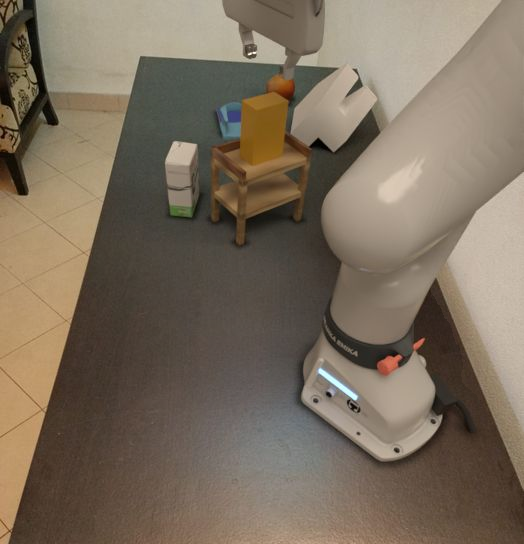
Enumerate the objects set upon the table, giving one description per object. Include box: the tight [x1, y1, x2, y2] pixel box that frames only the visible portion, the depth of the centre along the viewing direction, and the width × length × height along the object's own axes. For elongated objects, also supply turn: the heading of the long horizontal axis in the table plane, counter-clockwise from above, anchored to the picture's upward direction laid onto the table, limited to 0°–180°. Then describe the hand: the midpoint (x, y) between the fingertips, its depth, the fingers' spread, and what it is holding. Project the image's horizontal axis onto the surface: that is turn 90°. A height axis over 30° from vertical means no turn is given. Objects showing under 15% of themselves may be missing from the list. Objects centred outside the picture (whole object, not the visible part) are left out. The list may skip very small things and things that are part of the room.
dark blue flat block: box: [216, 106, 241, 124], centre depth 122 cm, size 2×8×12 cm
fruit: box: [265, 73, 296, 105], centre depth 131 cm, size 8×8×8 cm
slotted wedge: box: [289, 62, 378, 153], centre depth 116 cm, size 14×11×18 cm
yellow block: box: [240, 92, 289, 166], centre depth 83 cm, size 4×7×10 cm, turn 127°
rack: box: [209, 130, 313, 246], centre depth 92 cm, size 10×16×16 cm, turn 127°
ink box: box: [164, 140, 200, 218], centre depth 94 cm, size 9×5×12 cm, turn 175°
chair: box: [219, 101, 242, 143], centre depth 107 cm, size 8×8×12 cm
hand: (267, 67), depth 74 cm, fingers open, 8 cm apart
